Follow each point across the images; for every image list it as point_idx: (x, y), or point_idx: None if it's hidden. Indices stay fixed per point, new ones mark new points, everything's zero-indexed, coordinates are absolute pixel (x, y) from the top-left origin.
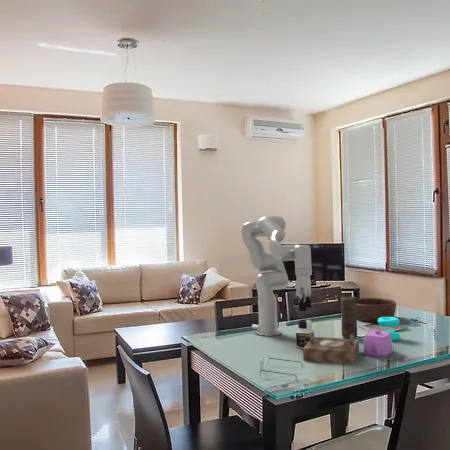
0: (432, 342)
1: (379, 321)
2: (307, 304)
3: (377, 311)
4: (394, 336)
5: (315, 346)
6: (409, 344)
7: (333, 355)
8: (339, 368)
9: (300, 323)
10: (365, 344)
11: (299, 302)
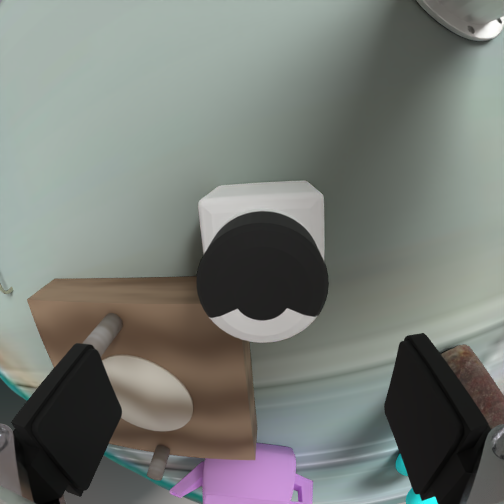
0: (386, 498)
1: None
2: (404, 409)
3: None
4: (400, 473)
5: (70, 342)
6: (366, 484)
7: None
8: None
9: (201, 259)
10: (204, 469)
11: (19, 427)
